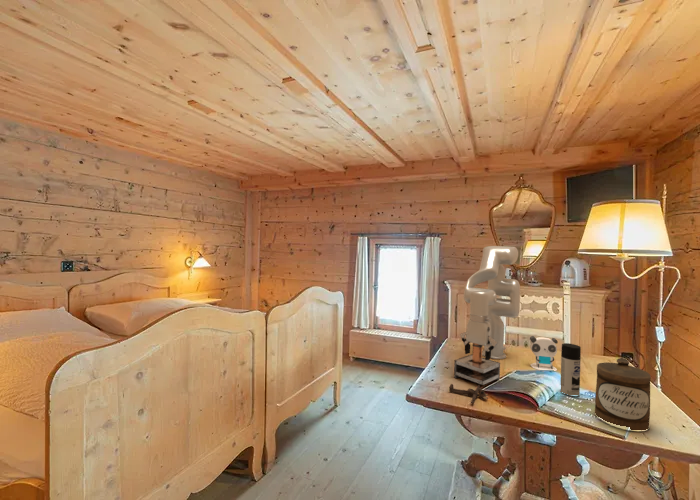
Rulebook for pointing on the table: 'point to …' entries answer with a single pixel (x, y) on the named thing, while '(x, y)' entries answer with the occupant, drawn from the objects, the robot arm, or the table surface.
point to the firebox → (487, 369)
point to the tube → (477, 357)
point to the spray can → (570, 369)
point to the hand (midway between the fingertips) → (477, 356)
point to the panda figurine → (543, 352)
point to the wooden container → (623, 394)
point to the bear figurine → (470, 392)
